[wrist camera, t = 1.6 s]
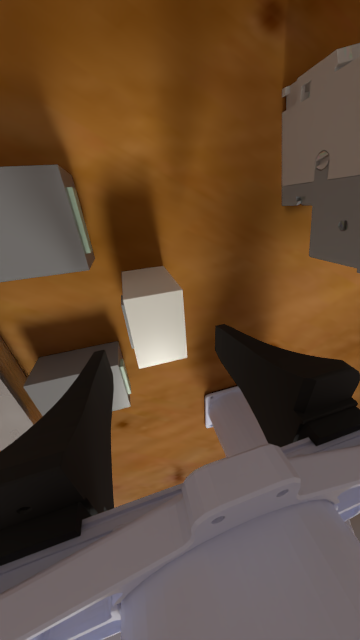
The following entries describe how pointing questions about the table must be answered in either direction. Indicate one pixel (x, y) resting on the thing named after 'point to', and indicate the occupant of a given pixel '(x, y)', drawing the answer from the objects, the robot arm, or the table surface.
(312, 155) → the circuit breaker
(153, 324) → the block
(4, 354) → the din rail
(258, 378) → the robot arm
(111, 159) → the table surface
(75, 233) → the mounted modules
